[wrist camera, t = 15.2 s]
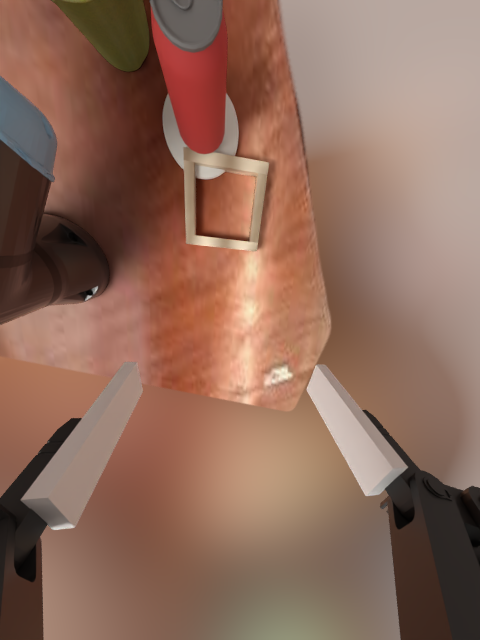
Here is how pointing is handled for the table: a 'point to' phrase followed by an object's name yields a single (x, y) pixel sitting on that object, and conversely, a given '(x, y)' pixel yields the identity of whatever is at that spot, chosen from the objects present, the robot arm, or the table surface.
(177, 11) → the beer can
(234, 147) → the white plate
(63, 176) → the table surface
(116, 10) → the plant pot
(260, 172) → the frame
